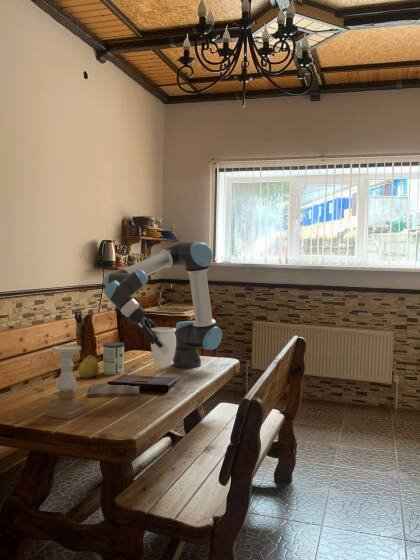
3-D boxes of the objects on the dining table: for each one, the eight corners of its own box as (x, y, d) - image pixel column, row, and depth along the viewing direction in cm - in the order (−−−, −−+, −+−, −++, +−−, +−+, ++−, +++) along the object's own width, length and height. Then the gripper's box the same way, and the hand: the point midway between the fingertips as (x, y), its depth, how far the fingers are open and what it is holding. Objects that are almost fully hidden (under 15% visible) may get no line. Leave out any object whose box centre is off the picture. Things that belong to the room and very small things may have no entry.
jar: (179, 362, 210) (180, 327, 209) (169, 367, 200) (170, 331, 200) (157, 360, 214) (157, 326, 213) (146, 365, 204) (146, 329, 203)
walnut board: (138, 385, 216) (138, 382, 216) (139, 395, 200) (139, 392, 200) (92, 386, 213) (92, 383, 213) (88, 396, 197) (88, 394, 197)
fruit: (74, 378, 227) (74, 352, 226) (87, 374, 235) (87, 349, 235) (89, 380, 223) (89, 354, 223) (102, 376, 232) (102, 350, 231)
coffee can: (106, 369, 245) (106, 341, 245) (126, 370, 244) (127, 342, 244) (99, 374, 235) (100, 345, 235) (121, 375, 234) (121, 345, 234)
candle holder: (64, 407, 184) (64, 343, 183) (88, 411, 179) (88, 345, 178) (43, 415, 174) (43, 348, 172) (68, 420, 169) (69, 351, 168)
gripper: (134, 314, 219) (169, 350, 218) (119, 321, 196) (158, 361, 196) (146, 303, 218) (181, 339, 217) (132, 308, 196) (171, 348, 195)
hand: (170, 349), depth 206 cm, fingers closed on jar, 10 cm apart
